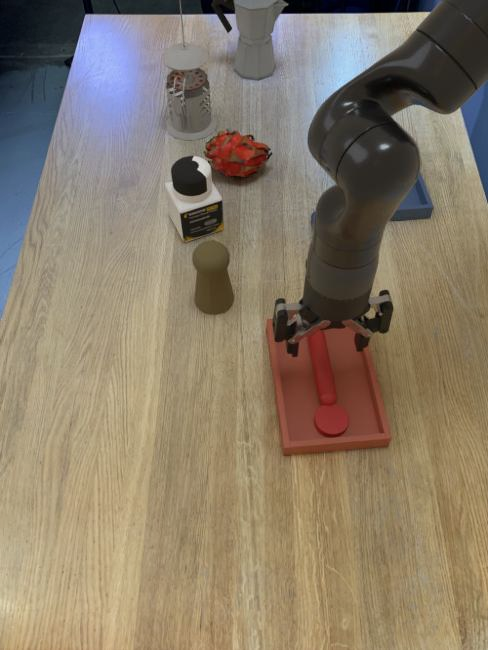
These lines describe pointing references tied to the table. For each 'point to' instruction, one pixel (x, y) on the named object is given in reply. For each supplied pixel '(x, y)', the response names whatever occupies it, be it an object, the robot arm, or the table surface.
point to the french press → (188, 91)
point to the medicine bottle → (194, 199)
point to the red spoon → (326, 390)
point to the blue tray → (415, 203)
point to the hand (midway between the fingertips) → (326, 348)
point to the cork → (212, 278)
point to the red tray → (302, 397)
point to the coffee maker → (252, 34)
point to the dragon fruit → (236, 154)
